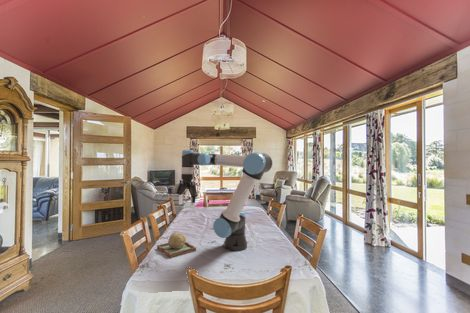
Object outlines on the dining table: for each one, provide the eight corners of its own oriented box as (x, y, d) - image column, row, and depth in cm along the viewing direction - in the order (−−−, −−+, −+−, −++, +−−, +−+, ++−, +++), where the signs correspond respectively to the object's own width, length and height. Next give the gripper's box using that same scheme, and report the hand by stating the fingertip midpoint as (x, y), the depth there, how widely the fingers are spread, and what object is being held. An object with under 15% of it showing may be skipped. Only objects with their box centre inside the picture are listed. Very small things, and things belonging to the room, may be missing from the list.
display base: (196, 251, 144) (196, 247, 144) (170, 258, 133) (170, 254, 133) (181, 242, 157) (182, 239, 157) (157, 248, 145) (157, 245, 145)
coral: (174, 232, 152) (185, 228, 148) (177, 248, 150) (189, 245, 145) (163, 235, 144) (175, 231, 140) (166, 252, 141) (178, 249, 137)
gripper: (203, 174, 150) (202, 208, 150) (181, 172, 168) (180, 202, 168) (193, 175, 145) (193, 209, 145) (172, 172, 162) (171, 203, 162)
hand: (186, 206), depth 156 cm, fingers open, 13 cm apart
